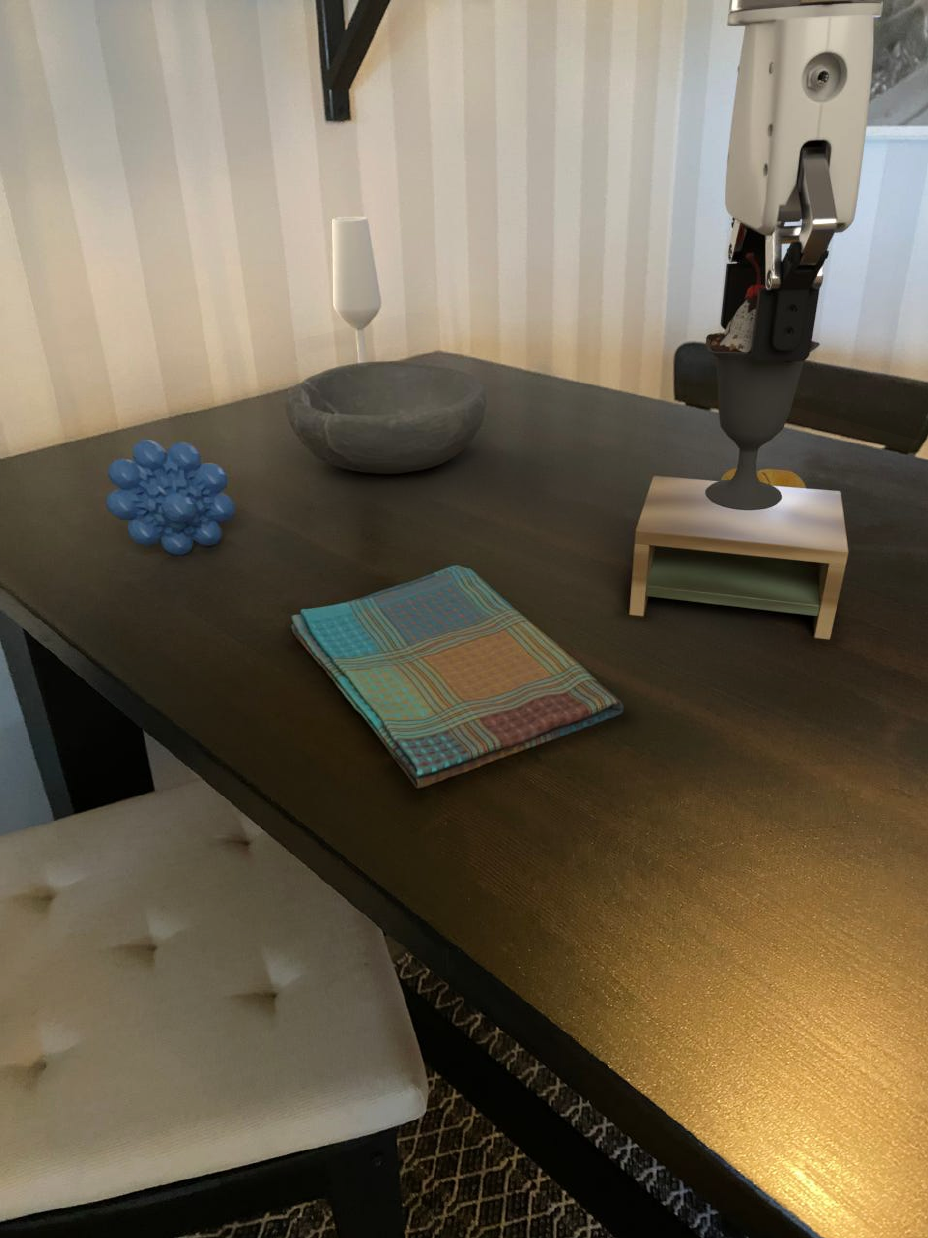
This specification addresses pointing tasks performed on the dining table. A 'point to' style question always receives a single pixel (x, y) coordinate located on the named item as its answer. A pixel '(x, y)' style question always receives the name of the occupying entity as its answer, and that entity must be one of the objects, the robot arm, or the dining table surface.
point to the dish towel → (451, 673)
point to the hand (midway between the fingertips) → (761, 340)
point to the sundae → (749, 404)
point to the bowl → (386, 415)
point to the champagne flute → (354, 276)
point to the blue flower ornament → (170, 496)
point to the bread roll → (773, 477)
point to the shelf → (741, 551)
